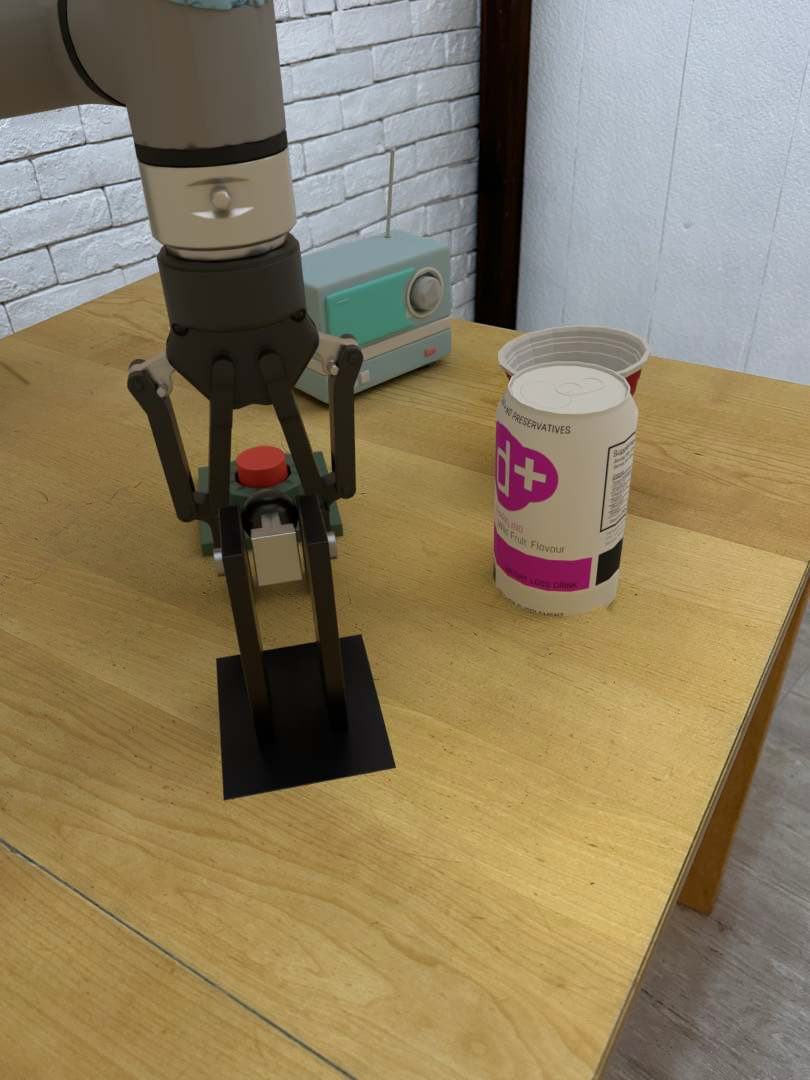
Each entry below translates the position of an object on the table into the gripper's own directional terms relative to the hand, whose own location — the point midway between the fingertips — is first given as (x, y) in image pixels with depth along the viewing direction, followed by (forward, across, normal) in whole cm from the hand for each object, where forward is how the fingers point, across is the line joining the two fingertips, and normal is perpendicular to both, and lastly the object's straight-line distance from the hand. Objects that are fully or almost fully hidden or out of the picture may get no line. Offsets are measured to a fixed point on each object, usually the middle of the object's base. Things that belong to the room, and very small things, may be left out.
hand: (281, 591), depth 61 cm
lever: (-7, 0, -6) cm, 9 cm away
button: (-3, 0, +10) cm, 11 cm away
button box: (+1, 0, +10) cm, 11 cm away
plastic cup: (+1, +23, +8) cm, 25 cm away
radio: (+1, +12, +34) cm, 36 cm away
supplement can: (+1, +18, -4) cm, 18 cm away
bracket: (+1, 0, -12) cm, 12 cm away
